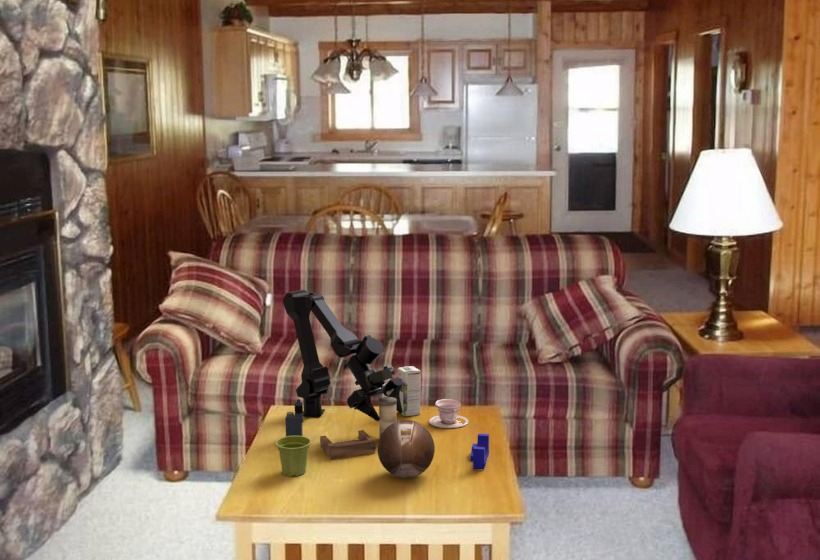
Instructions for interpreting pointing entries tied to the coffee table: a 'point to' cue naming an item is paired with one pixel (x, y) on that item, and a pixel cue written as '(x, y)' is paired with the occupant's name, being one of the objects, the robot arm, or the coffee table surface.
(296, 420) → the vaping device
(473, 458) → the blue stepped block
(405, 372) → the syrup box
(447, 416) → the teacup
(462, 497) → the coffee table surface
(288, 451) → the plant pot
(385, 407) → the lidded tumbler
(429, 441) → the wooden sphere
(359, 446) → the cradle
